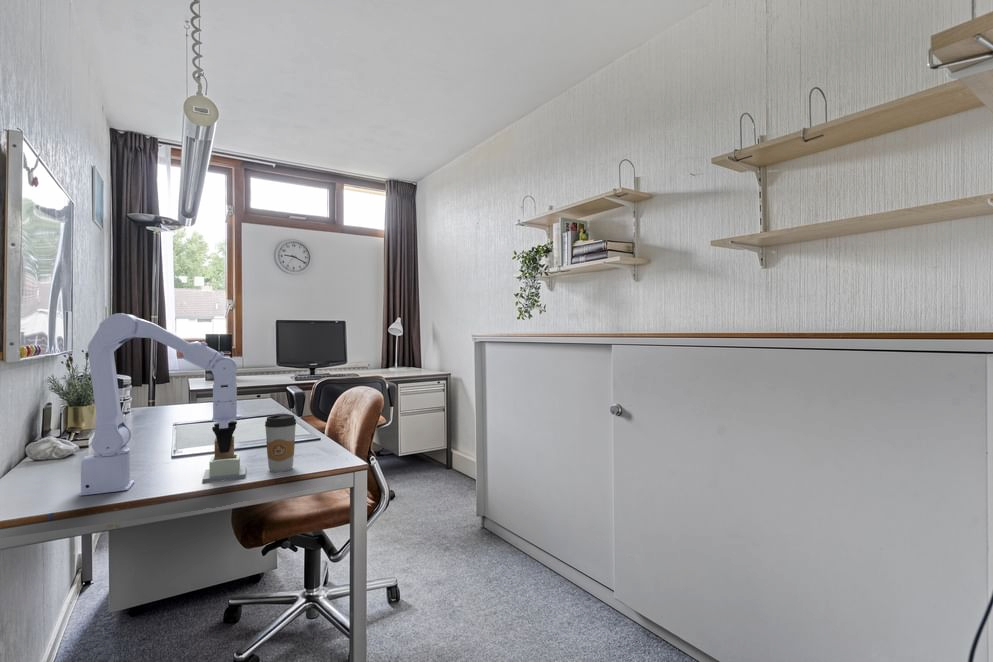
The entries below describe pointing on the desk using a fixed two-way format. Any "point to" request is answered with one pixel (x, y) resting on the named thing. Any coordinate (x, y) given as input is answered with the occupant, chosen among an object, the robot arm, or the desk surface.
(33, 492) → the desk surface
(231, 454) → the walnut block
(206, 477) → the socket base
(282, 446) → the coffee cup
